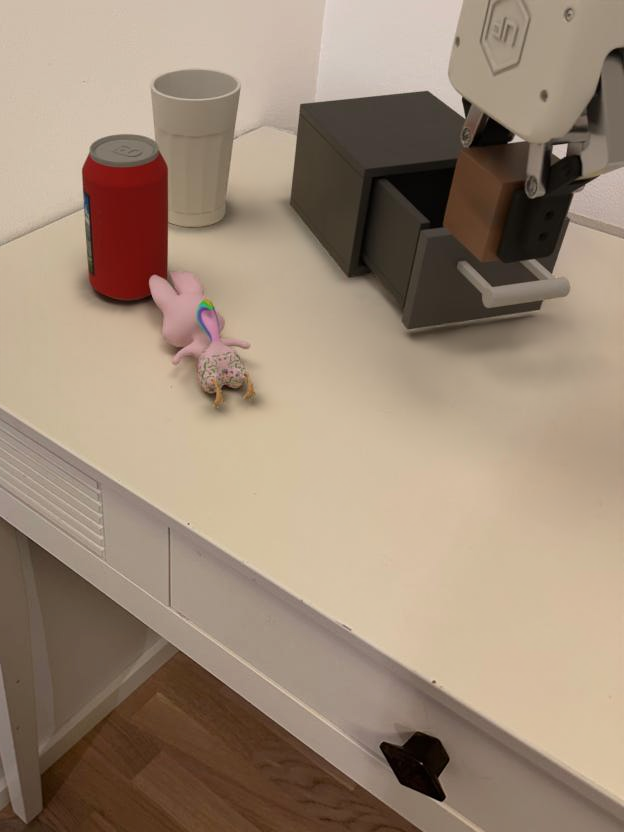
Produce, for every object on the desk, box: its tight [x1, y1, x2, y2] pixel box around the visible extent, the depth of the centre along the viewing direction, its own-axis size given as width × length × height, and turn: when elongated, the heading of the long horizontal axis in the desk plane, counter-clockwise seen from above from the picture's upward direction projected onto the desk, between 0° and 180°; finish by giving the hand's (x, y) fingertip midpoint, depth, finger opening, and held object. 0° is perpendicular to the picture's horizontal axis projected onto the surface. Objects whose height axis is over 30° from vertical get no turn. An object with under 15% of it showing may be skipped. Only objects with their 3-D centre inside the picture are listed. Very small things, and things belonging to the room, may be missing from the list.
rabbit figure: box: [149, 270, 256, 410], centre depth 67 cm, size 6×6×15 cm
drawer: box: [359, 167, 571, 330], centre depth 70 cm, size 19×11×8 cm, turn 13°
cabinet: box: [289, 90, 469, 277], centre depth 79 cm, size 15×13×10 cm
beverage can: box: [81, 133, 169, 302], centre depth 72 cm, size 7×7×12 cm
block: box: [443, 140, 575, 262], centre depth 50 cm, size 5×5×5 cm
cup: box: [149, 67, 242, 228], centre depth 82 cm, size 8×8×12 cm
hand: (499, 232), depth 51 cm, fingers closed on block, 4 cm apart
